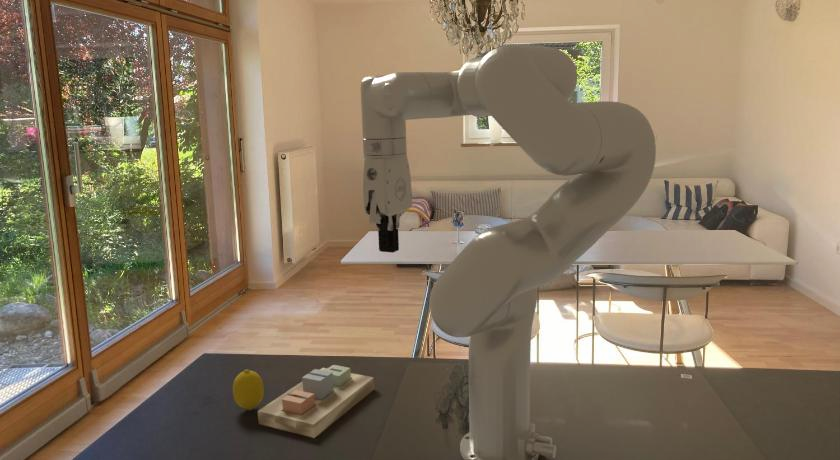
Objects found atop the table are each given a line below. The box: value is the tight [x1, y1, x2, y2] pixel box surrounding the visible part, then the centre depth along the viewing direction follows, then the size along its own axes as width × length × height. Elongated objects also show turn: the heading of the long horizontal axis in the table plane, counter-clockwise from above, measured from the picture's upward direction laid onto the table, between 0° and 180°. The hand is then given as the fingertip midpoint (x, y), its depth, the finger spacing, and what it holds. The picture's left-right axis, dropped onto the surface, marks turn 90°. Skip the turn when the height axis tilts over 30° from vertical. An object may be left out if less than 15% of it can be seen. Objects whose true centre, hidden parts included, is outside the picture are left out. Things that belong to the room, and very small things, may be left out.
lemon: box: [232, 369, 265, 411], centre depth 118 cm, size 6×6×8 cm
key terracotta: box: [282, 390, 315, 416], centre depth 114 cm, size 5×4×4 cm
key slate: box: [301, 368, 334, 401], centre depth 119 cm, size 4×4×4 cm
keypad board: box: [257, 367, 375, 439], centre depth 119 cm, size 12×20×2 cm, turn 153°
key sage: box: [325, 364, 352, 387], centre depth 124 cm, size 4×4×4 cm
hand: (389, 250), depth 115 cm, fingers closed
